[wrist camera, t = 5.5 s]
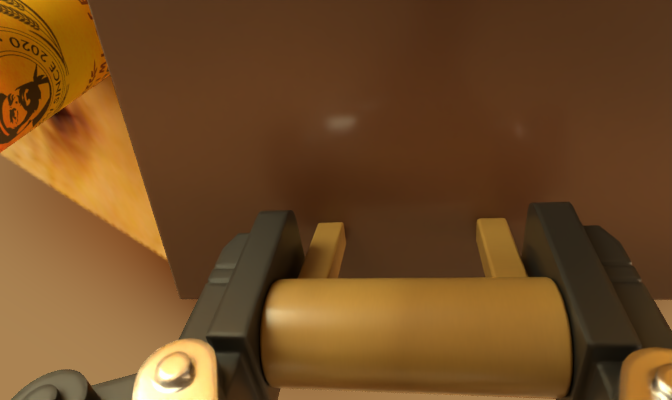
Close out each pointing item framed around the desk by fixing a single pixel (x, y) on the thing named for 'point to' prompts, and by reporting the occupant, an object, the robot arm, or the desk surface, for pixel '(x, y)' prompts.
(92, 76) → the beer can
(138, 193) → the desk surface
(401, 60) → the lid
